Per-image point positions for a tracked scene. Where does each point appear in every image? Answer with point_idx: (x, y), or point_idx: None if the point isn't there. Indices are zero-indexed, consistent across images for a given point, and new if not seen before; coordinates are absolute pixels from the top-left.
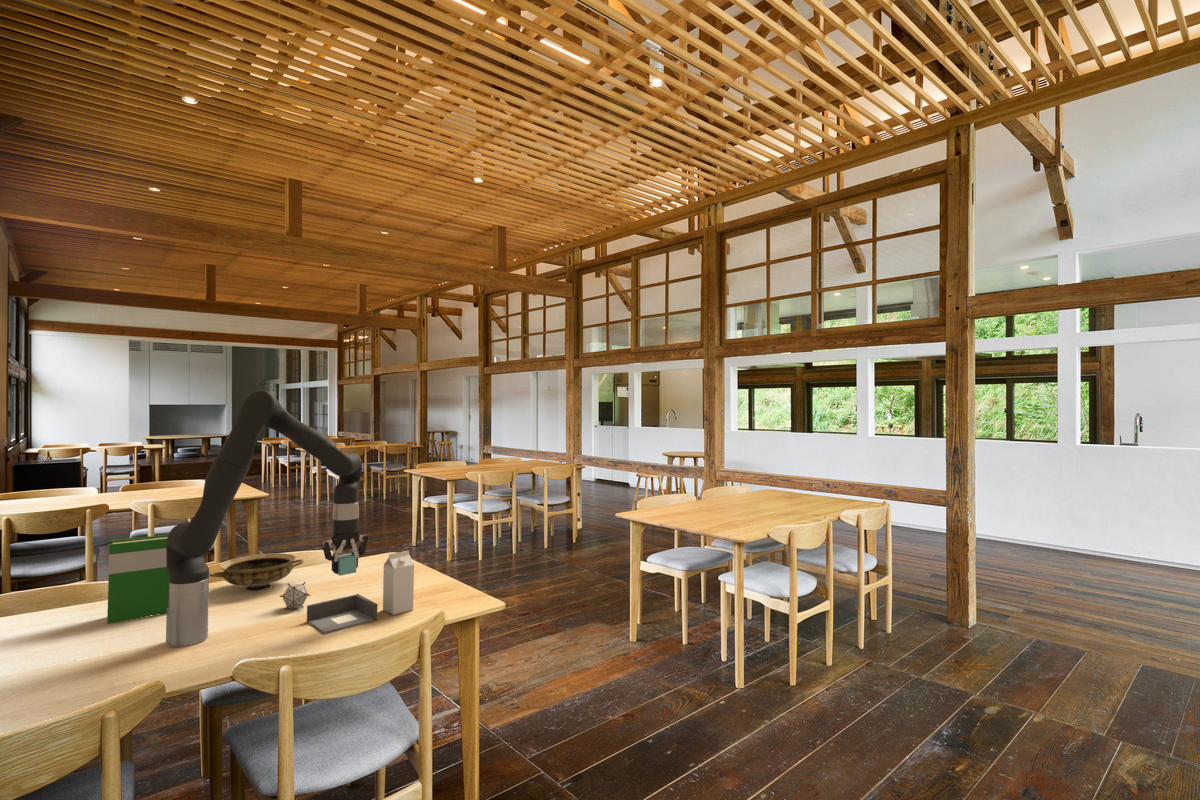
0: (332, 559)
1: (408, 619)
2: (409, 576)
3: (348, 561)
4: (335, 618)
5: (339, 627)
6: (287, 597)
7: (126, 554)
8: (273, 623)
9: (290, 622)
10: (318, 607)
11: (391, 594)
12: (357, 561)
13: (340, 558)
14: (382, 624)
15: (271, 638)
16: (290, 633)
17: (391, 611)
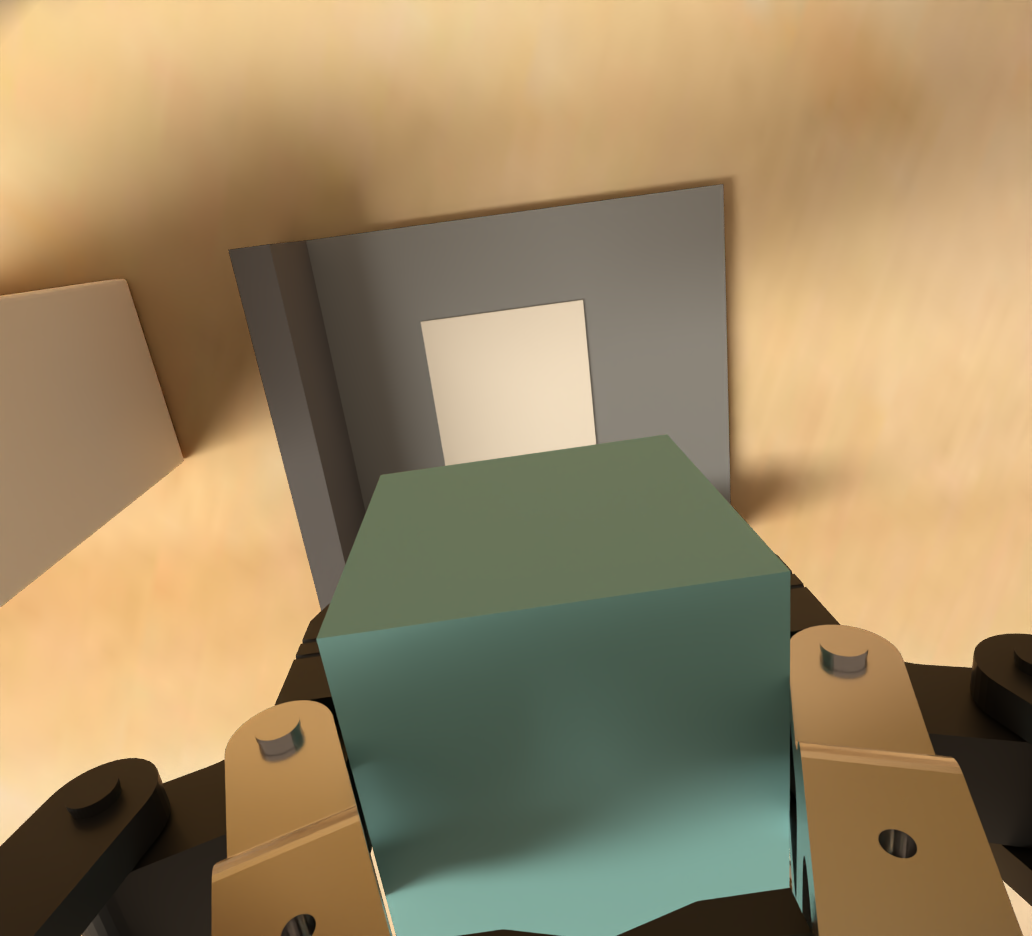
0: (930, 689)
1: (12, 77)
2: None
3: (546, 553)
4: (563, 440)
5: (596, 216)
6: (789, 868)
7: None
8: (895, 622)
9: (810, 582)
10: None
11: (34, 341)
12: (301, 672)
13: (749, 661)
14: (257, 102)
15: (1019, 344)
16: (891, 365)
17: (126, 311)
